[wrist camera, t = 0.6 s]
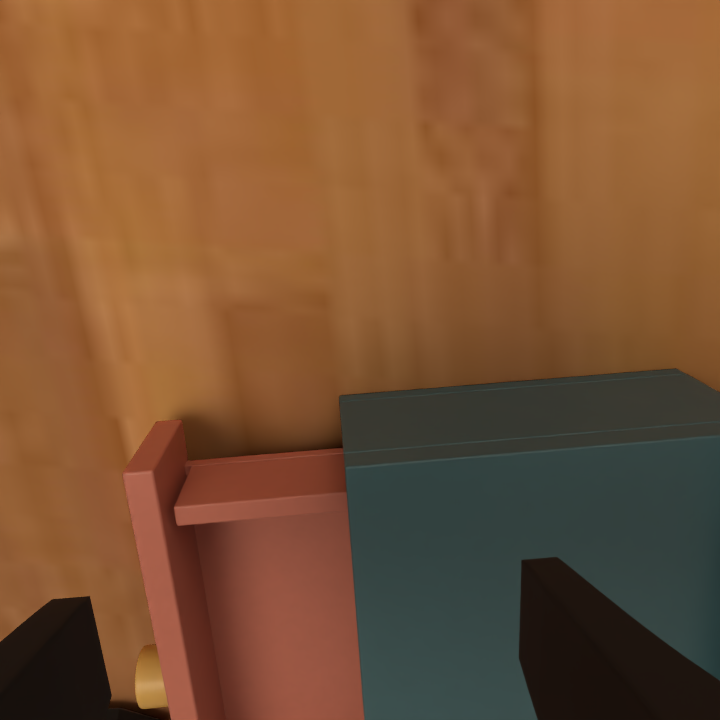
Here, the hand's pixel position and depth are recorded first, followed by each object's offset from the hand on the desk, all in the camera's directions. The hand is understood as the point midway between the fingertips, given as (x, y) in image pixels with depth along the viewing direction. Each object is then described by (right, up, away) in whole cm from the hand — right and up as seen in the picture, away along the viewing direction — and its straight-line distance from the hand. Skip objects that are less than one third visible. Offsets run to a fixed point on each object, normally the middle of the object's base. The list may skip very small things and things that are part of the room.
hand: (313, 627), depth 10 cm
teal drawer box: (+6, -4, +12) cm, 14 cm away
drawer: (0, -5, +11) cm, 12 cm away
